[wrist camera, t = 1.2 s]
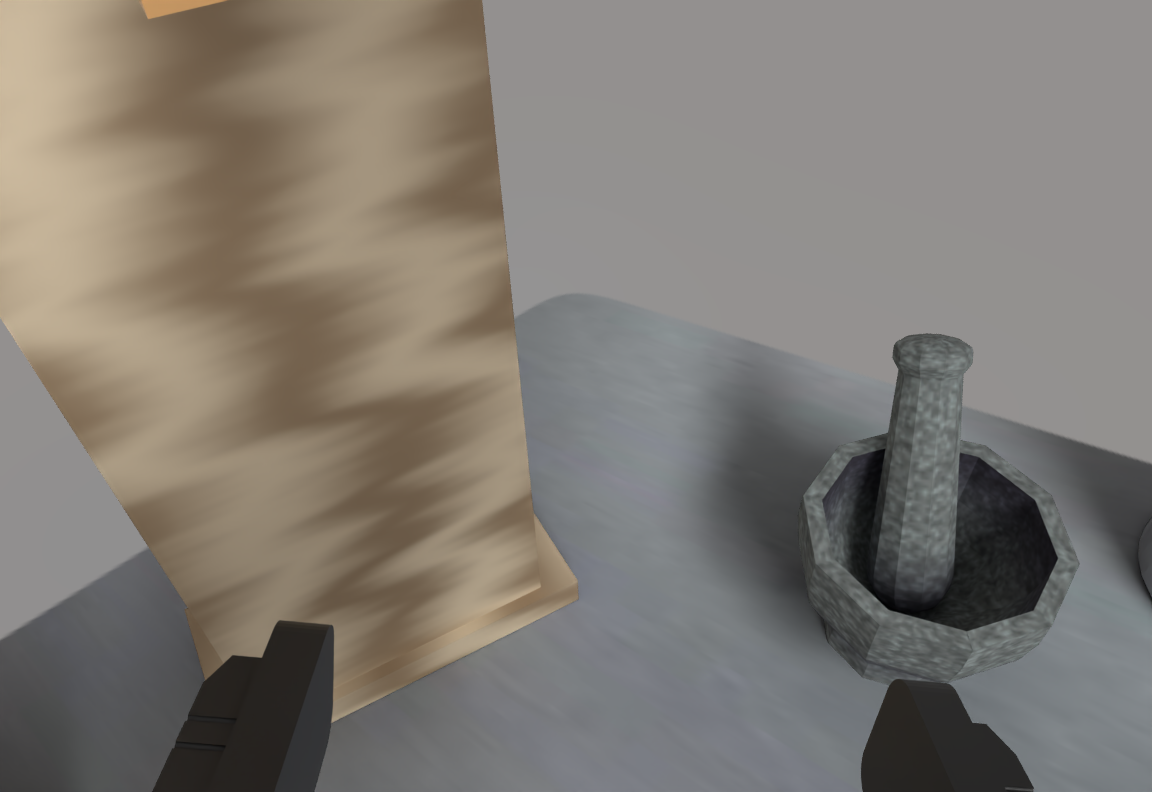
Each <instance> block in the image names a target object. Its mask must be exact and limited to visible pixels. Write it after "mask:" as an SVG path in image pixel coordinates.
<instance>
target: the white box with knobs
mask: <svg viewBox="0 0 1152 792" xmlns="http://www.w3.org/2000/svg"><path fill="white" fill-rule="evenodd" d="M138 1H139V3H140V4H141V6H142V8H143V10H144V12H145V14H146V16H147V18H148V19H151V18H155V17H160V16H164V15H168V14H172V13H177V12H181V11H185V10H189V9H194V8H198V7H202V6H206V5H210V4H215V3H219V2H223V1H227V0H138Z"/></svg>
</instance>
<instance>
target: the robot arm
mask: <svg viewBox="0 0 1152 792" xmlns="http://www.w3.org/2000/svg"><path fill="white" fill-rule="evenodd" d="M1138 559H1139V564H1140V569H1141V574H1142V577H1143V579H1144V581H1145V584H1146V586H1147V588H1148V590H1149V592H1150V595H1151V596H1152V518H1151V520H1150V521H1149V522H1148V524H1147V525H1146V526H1145V529H1144V531H1143V534H1142V536H1141V538H1140V541H1139V553H1138ZM333 680H334V628H333V625H328V624H317V623H306V622H296V621H285V620H279V621H278V622H277V623H276V625H275V627H274V629H273V631H272V634H271V636H270V639H269V641H268V644H267V646H266V649H265V651H264V653H263V656H262V658H260V657H248V656H237V655H232V656H231V657H230V658H229V659H228V660H227V661H226V662H225V663H224V664H222V665H221V666H220V667H219V668H218V669H217V670H216V671H215V672H214V673H213V674H212V675H211V676H210V677H208V678H207V679H206V680H205V681H204V682H203V684H202V687H201V689H200V691H199V693H198V695H197V697H196V699H195V701H194V704H193V706H192V708H191V710H190V712H189V714H188V720H187V721H185V723H184V725H183V727H182V729H181V731H180V733H179V736H178V738H177V740H176V745H175V748H172V750H171V753H170V755H169V757H168V759H167V761H166V763H165V765H164V768H163V770H162V772H161V774H160V776H159V778H158V780H157V782H156V785H155V787H154V789H153V791H152V792H314V790H315V787H316V783H317V780H318V776H319V773H320V769H321V766H322V762H323V759H324V755H325V752H326V748H327V744H328V739H329V734H330V728H331V721H332V712H333ZM861 781H862V789H863V792H1033V789H1034V787H1033V786H1032V784H1031V782H1030V780H1029V778H1028V776H1027V774H1026V773H1025V771H1024V769H1023V767H1022V765H1021V763H1020V761H1019V760H1018V758H1017V756H1016V754H1015V753H1014V752H1013V751H1012V750H1011V749H1010V748H1009V747H1008V746H1007V745H1006V744H1005V743H1004V742H1003V741H1002V740H1001V739H1000V738H999V737H998V736H997V735H996V734H995V733H994V732H993V731H992V730H991V729H990V728H989V727H988V726H987V724H979V723H972V721H971V719H970V717H969V715H968V714H967V712H966V710H965V708H964V706H963V704H962V702H961V700H960V698H959V696H958V694H957V692H956V690H955V689H954V688H953V687H952V686H951V685H950V684H947V683H939V682H928V681H917V680H906V679H895V680H894V681H893V682H892V683H891V684H890V686H889V688H888V690H887V693H886V695H885V698H884V700H883V703H882V705H881V708H880V711H879V713H878V716H877V718H876V721H875V724H874V726H873V729H872V731H871V734H870V737H869V739H868V742H867V744H866V747H865V750H864V753H863V757H862V764H861Z"/></svg>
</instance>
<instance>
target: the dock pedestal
mask: <svg viewBox="0 0 1152 792" xmlns="http://www.w3.org/2000/svg"><path fill="white" fill-rule="evenodd" d="M0 318H1V319H2V321H3V322H4V324H5V325H6V327H7V329H8V330H9V332H10V333H11V335H12V336H13V338H14V340H15V341H16V343H17V344H18V346H19V347H20V349H21V350H22V352H23V353H24V355H25V357H26V358H27V359H28V361H29V363H30V364H31V366H32V367H33V369H34V370H35V372H36V374H37V375H38V377H39V378H40V380H41V381H42V383H43V384H44V386H45V388H46V389H47V391H48V392H49V394H50V395H51V397H52V398H53V400H54V401H55V403H56V405H57V406H58V408H59V409H60V411H61V412H62V414H63V415H64V417H65V419H66V420H67V422H68V423H69V425H70V426H71V428H72V429H73V431H74V432H75V434H76V435H77V437H78V439H79V440H80V442H81V443H82V445H83V446H84V448H85V449H86V451H87V453H88V454H89V456H90V457H91V459H92V460H93V462H94V463H95V465H96V466H97V468H98V469H99V471H100V473H101V474H102V476H103V477H104V479H105V480H106V482H107V483H108V485H109V486H110V488H111V489H112V491H113V493H114V494H115V496H116V497H117V499H118V501H119V502H120V504H121V505H122V507H123V508H124V510H125V511H126V513H127V514H128V516H129V517H130V519H131V521H132V522H133V524H134V525H135V527H136V528H137V530H138V531H139V533H140V535H141V536H142V538H143V539H144V541H145V542H146V544H147V545H148V547H149V548H150V550H151V552H152V553H153V555H154V556H155V558H156V559H157V561H158V562H159V564H160V565H161V567H162V569H163V570H164V572H165V573H166V575H167V576H168V578H169V579H170V581H171V582H172V584H173V586H174V587H175V589H176V590H177V592H178V593H179V595H180V596H181V598H182V600H183V601H184V603H185V604H186V606H187V607H188V608H187V609H184V610H185V613H186V616H187V620H188V623H189V627H190V630H191V633H192V637H193V640H194V644H195V647H196V650H197V654H198V657H199V661H200V664H201V667H202V671H203V674H204V678H205V680H206V679H207V678H208V677H210V676H211V675H212V674H213V673H214V672H215V671H216V670H217V669H218V668H219V667H220V666H221V665H222V664H224V663H225V662H226V661H227V660H228V659H229V658H230V657H231V656H232V655H237V656H248V657H260V658H262V656H263V653H264V651H265V649H266V646H267V644H268V641H269V639H270V636H271V634H272V631H273V629H274V627H275V625H276V623H277V622H278V621H279V620H285V621H296V622H306V623H317V624H328V625H333V628H334V680H333V712H332V721H331V723H332V722H334V721H336V720H338V719H340V718H342V717H344V716H346V715H348V714H350V713H352V712H354V711H356V710H358V709H360V708H362V707H364V706H366V705H368V704H370V703H372V702H374V701H376V700H378V699H380V698H382V697H384V696H386V695H388V694H390V693H392V692H394V691H396V690H398V689H400V688H402V687H404V686H406V685H408V684H410V683H412V682H414V681H416V680H418V679H420V678H422V677H424V676H426V675H428V674H430V673H432V672H434V671H436V670H438V669H440V668H442V667H444V666H446V665H448V664H450V663H452V662H454V661H456V660H458V659H460V658H462V657H464V656H466V655H468V654H470V653H472V652H474V651H476V650H478V649H480V648H482V647H484V646H486V645H488V644H490V643H492V642H494V641H496V640H498V639H500V638H502V637H504V636H506V635H508V634H510V633H512V632H514V631H516V630H518V629H520V628H522V627H524V626H526V625H528V624H530V623H532V622H534V621H536V620H538V619H540V618H542V617H544V616H546V615H548V614H550V613H552V612H554V611H556V610H558V609H560V608H562V607H564V606H566V605H568V604H570V603H572V602H574V601H576V600H578V581H577V579H576V577H575V576H574V574H573V573H572V571H571V570H570V568H569V567H568V565H567V564H566V562H565V560H564V559H563V557H562V556H561V554H560V553H559V551H558V550H557V548H556V546H555V545H554V543H553V542H552V540H551V539H550V537H549V536H548V534H547V532H546V531H545V529H544V528H543V526H542V525H541V523H540V522H539V520H538V518H537V517H536V515H535V514H534V512H533V503H532V493H531V483H530V474H529V464H528V454H527V444H526V434H525V424H524V414H523V404H522V394H521V384H520V374H519V364H518V354H517V344H516V334H515V324H514V315H513V304H512V294H511V284H510V274H509V265H508V254H507V244H506V235H505V225H504V216H503V205H502V195H501V185H500V175H499V165H498V155H497V145H496V135H495V125H494V115H493V105H492V95H491V85H490V75H489V66H488V56H487V46H486V35H485V25H484V16H483V5H482V0H227V1H223V2H219V3H215V4H210V5H206V6H202V7H198V8H194V9H189V10H185V11H181V12H177V13H172V14H168V15H164V16H160V17H155V18H151V19H148V18H147V16H146V14H145V12H144V10H143V8H142V6H141V4H140V3H139V1H138V0H0Z"/></svg>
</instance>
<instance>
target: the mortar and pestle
mask: <svg viewBox="0 0 1152 792" xmlns="http://www.w3.org/2000/svg"><path fill="white" fill-rule="evenodd" d="M893 360H894V362H895V364H896V365H897V367H898V369H899V370H898V377H897V382H896V389H895V395H894V401H893V407H892V413H891V419H890V425H889V431H888V433H886V434H882V435H878V436H875V437H871V438H867V439H863V440H859V441H856V442H852V443H848V444H844V445H841V446H839V447H838V448H837V449H836V451H835V452H834V454H833V455H832V456H831V458H830V459H829V460H828V462H827V463H826V465H825V466H824V467H823V469H822V470H821V472H820V473H819V474H818V476H817V477H816V478H815V480H814V481H813V483H812V484H811V485H810V487H809V488H808V489H807V491H806V492H805V494H804V495H803V498H802V502H801V506H800V510H799V514H798V540H799V546H800V552H801V557H802V563H803V569H804V575H805V580H806V586H807V592H808V598H809V603H810V604H811V605H812V606H813V608H814V609H815V610H816V611H817V613H818V614H819V615H820V616H821V617H822V618H823V619H824V624H825V629H826V635H827V640H828V643H829V644H830V645H831V646H832V647H833V648H834V649H835V650H836V651H837V652H838V653H839V654H840V655H841V656H842V657H843V658H844V659H845V660H846V661H847V662H848V663H849V664H850V665H851V666H852V667H853V668H854V669H855V670H856V671H857V672H858V673H859V674H860V675H861V676H862V677H863V678H866V679H870V680H873V681H877V682H880V683H884V684H887V685H890V684H891V683H892V682H893V681H894V680H895V679H906V680H917V681H928V682H939V683H940V682H947V683H949V682H952V681H955V680H958V679H961V678H964V677H967V676H970V675H973V674H976V673H980V672H983V671H986V670H989V669H992V668H995V667H998V666H1001V665H1004V664H1007V663H1010V662H1014V661H1017V660H1019V659H1020V658H1022V657H1023V656H1024V655H1026V654H1027V653H1028V652H1029V651H1031V650H1032V649H1033V648H1035V647H1036V646H1037V645H1039V643H1040V642H1041V640H1042V639H1043V637H1044V636H1045V635H1046V633H1047V632H1048V630H1049V629H1050V627H1051V626H1052V624H1053V622H1054V620H1055V617H1056V615H1057V613H1058V611H1059V608H1060V606H1061V604H1062V602H1063V600H1064V597H1065V595H1066V593H1067V591H1068V589H1069V586H1070V584H1071V582H1072V580H1073V578H1074V575H1075V573H1076V571H1077V569H1078V567H1079V564H1080V563H1079V561H1078V559H1077V556H1076V554H1075V551H1074V549H1073V546H1072V544H1071V542H1070V539H1069V537H1068V534H1067V532H1066V529H1065V527H1064V525H1063V522H1062V520H1061V517H1060V515H1059V512H1058V510H1057V507H1056V505H1055V503H1054V500H1053V498H1052V495H1050V494H1049V493H1048V492H1046V491H1045V490H1044V489H1042V488H1041V487H1040V486H1038V485H1037V484H1036V483H1034V482H1033V481H1032V480H1030V479H1029V478H1028V477H1027V476H1025V475H1024V474H1023V473H1021V472H1020V471H1019V470H1017V469H1016V468H1015V467H1013V466H1012V465H1011V464H1009V463H1008V462H1007V461H1005V460H1004V459H1003V458H1001V457H1000V456H999V455H997V454H996V453H995V452H993V451H992V450H991V449H989V448H988V447H987V446H985V445H981V444H976V443H972V442H967V441H963V440H960V434H961V413H962V392H963V374H964V373H965V372H966V371H967V370H968V368H969V367H970V366H971V365H972V361H973V349H972V347H971V346H969V345H968V344H966V343H965V342H963V341H962V340H960V339H958V338H954V337H950V336H945V335H941V334H918V335H910V336H907V337H904V338H903V339H901V340H899V341H897V342H896V343H895V345H894V350H893Z"/></svg>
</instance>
